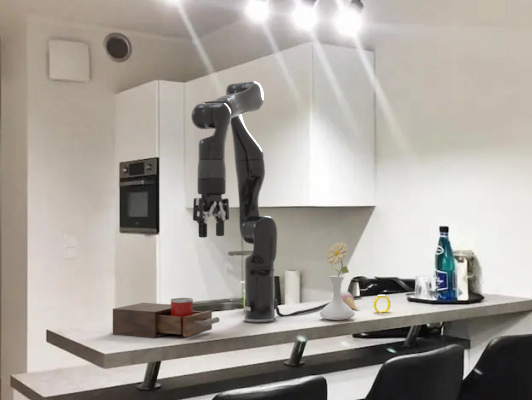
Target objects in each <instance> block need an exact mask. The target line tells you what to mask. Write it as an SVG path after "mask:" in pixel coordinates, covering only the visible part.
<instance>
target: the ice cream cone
mask: <svg viewBox="0 0 532 400" xmlns="http://www.w3.org/2000/svg"><path fill="white" fill-rule="evenodd" d="M353 296H354V295H352V294H351V292H349V291H346V290H344V291H341V299H342V301H343V302H344V303H345V304H347V305H348V306H349V307H350V308H351V309H352V310H355V311H358V309H357V306H356V302H355V299H354V298H353Z"/></svg>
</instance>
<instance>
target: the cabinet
mask: <svg viewBox="0 0 532 400" xmlns="http://www.w3.org/2000/svg"><path fill="white" fill-rule="evenodd" d="M169 311H171V303H170V304H169V303H154V302H153V303H152V302H139V303H134V304H129V305H124V306H120V307H115V308H114V307H113V308H112V335H119V336H129V337H143V338H152V339H156V338H159V337H163V336H167V335H171V334H170V333H158V332H157V315H156V314H161V313H165V312H169Z"/></svg>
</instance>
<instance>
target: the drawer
mask: <svg viewBox="0 0 532 400" xmlns="http://www.w3.org/2000/svg"><path fill="white" fill-rule="evenodd" d="M156 315H157V332H158V333H170V334H169V335H171V334H172V335H183V336H182V337H184V338H187V337H191V336H194V335H197V334H201V333H204V332H208V331H211V330H213V324H217V323H219V322H220V318H219V317H218V316H216V317H213V310H205V311H203V310H202V311H201V310H193V315H189V316H185V317H183V329H182V317H181V316H171V311H169V312H165V313H161V314H156Z"/></svg>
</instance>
